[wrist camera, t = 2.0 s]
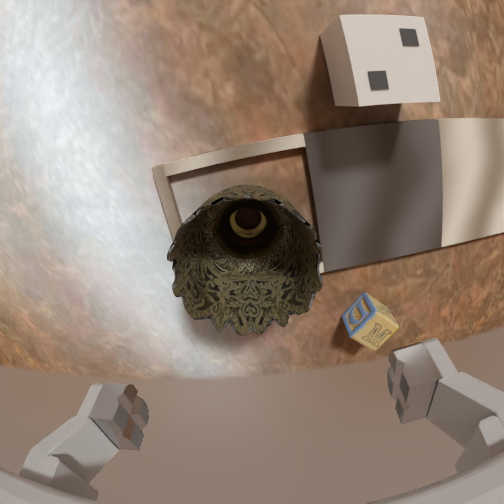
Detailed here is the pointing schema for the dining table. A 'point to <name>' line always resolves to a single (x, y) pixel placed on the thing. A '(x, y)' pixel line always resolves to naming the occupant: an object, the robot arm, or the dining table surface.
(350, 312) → the alphabet block
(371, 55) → the die
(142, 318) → the dining table surface
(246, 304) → the cup
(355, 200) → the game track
